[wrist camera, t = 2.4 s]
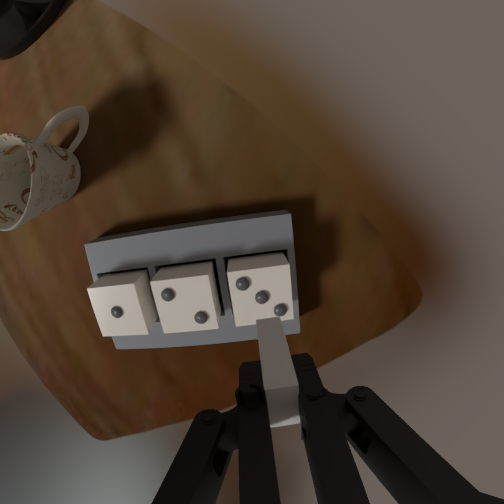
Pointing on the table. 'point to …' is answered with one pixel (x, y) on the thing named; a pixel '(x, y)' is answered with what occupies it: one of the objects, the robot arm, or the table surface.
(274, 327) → the robot arm
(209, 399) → the table surface
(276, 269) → the white block with dots
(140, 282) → the white block
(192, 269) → the white die
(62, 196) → the mug
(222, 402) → the table surface
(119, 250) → the board
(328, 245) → the table surface
